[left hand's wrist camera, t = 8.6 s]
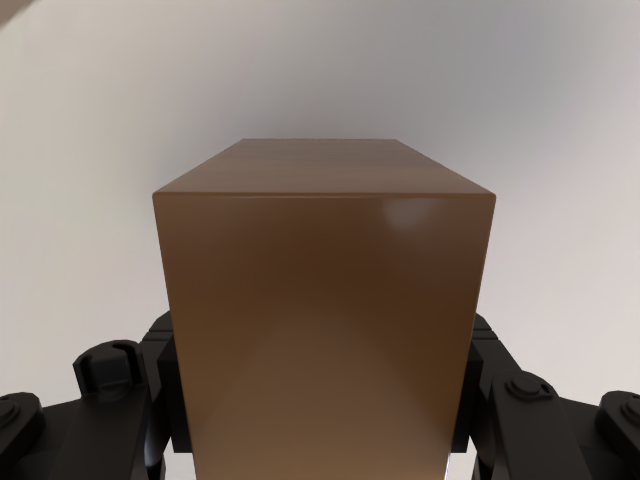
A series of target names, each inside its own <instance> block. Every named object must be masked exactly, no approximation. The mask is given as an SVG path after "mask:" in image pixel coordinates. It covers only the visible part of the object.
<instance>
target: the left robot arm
mask: <svg viewBox="0 0 640 480" xmlns="http://www.w3.org/2000/svg"><path fill="white" fill-rule="evenodd" d="M72 365H73V368H74V371H75V375H76V378H77V382H78V385H79V389H80V392H81V395H82V396H81V398H80V399H77V400H74V401H70V402H65V403H61V404H57V405H52V406H48V407H43V408H42V406H41V403H40V400H39V398H38V397H37V396H35V395H34V394H33V393H26V392H19V393H13V394H8V395H5V396H2V397H0V480H165V471H166V466H165V459H164V454H163V453H164V450H165V448H166V446H167V444H168V441H169V439H170V437H171V440H172V445H173V450H174V453H192V448H191V441H190V435H189V428H188V422H187V416H186V409H185V403H184V396H183V390H182V384H181V377H180V371H179V365H178V358H177V352H176V345H175V339H174V333H173V326H172V320H171V314H170V310H169V311H168V312H166V313H165V314H163V315H162V316H161V317H159V318H158V319H156V321H155V322H154V324H153V325H152V326H151V328H150V329H149V332H147V333H146V335H145V336H144V337H143V339H142V341H140V343H139V344H138V343H137V342H135V341H130V340H113V341H109V342H105V343H101V344H99V345H97V346H95V347H92V348H90V349H88V350H87V351H86V352H84V353H83V354H81V355H80V356H79V357H78V358H77V359H76V361H75V362H74V363H73V364H72ZM469 436H470V437H471V439H472V441H473V443H474V446H475V448H476V450H477V454H476V459H475V464H474V469H473V474H472V479H471V480H640V395H638V394H635V393H632V392H625V391H611V392H607V393H606V394H605V395H603V396H602V399H601V401H600V404H599V406H595V405H591V404H586V403H582V402H577V401H573V400H569V399H565V398H562V397H559V395H558V394H557V392H556V391H555V390H554V388H553V387H552V386H551V385H550V384H549V383H547V382H546V381H545V380H544V379H542V378H540V377H538V376H536V375H534V374H532V373H530V372H526V371H523V370H521V368H520V367H519V365H518V364H517V363H516V361H515V360H514V359H513V357H512V356H511V355H510V353H509V352H508V350H507V349H506V348H505V346H504V345H503V344H502V342H501V341H500V340H498V337H497V335H496V334H495V333H494V331H492V329H491V327H490V326H489V324H488V323H487V322H486V320H485V319H484V318H483V317H482V316H480V315H479V314H477V313H476V314H475V319H474V325H473V331H472V336H471V342H470V347H469V353H468V358H467V364H466V370H465V375H464V381H463V386H462V392H461V397H460V403H459V409H458V414H457V420H456V425H455V431H454V436H453V442H452V448H451V453H466V451H467V446H468V441H469Z"/></svg>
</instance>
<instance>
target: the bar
mask: <svg viewBox="0 0 640 480" xmlns="http://www.w3.org/2000/svg"><path fill="white" fill-rule="evenodd" d="M152 199H153V205H154V211H155V218H156V224H157V231H158V237H159V243H160V250H161V256H162V263H163V269H164V275H165V282H166V288H167V294H168V301H169V307H170V314H171V320H172V326H173V333H174V339H175V345H176V352H177V358H178V365H179V371H180V377H181V384H182V390H183V396H184V403H185V409H186V416H187V422H188V428H189V435H190V441H191V448H192V454H193V460H194V467H195V473H196V479H197V480H446V475H447V470H448V464H449V459H450V453H451V448H452V442H453V436H454V431H455V425H456V420H457V414H458V409H459V403H460V397H461V392H462V386H463V381H464V375H465V370H466V364H467V358H468V353H469V347H470V342H471V336H472V331H473V325H474V319H475V314H476V308H477V303H478V297H479V292H480V286H481V280H482V275H483V269H484V264H485V258H486V253H487V247H488V241H489V236H490V230H491V225H492V219H493V214H494V208H495V203H496V195H495V194H494V193H492V192H490V191H488V190H487V189H485V188H483V187H481V186H479V185H477V184H476V183H474V182H472V181H470V180H468V179H467V178H465V177H463V176H461V175H459V174H457V173H456V172H454V171H452V170H450V169H448V168H446V167H445V166H443V165H441V164H439V163H437V162H435V161H434V160H432V159H430V158H428V157H426V156H425V155H423V154H421V153H419V152H417V151H415V150H414V149H412V148H410V147H408V146H406V145H404V144H403V143H401V142H399V141H397V140H382V139H242V140H240V141H239V142H237V143H235V144H234V145H232V146H230V147H229V148H227V149H225V150H224V151H222V152H220V153H219V154H217V155H215V156H214V157H212V158H210V159H209V160H207V161H205V162H204V163H202V164H200V165H199V166H197V167H195V168H194V169H192V170H190V171H189V172H187V173H185V174H184V175H182V176H180V177H179V178H177V179H175V180H174V181H172V182H170V183H169V184H167V185H165V186H164V187H162V188H160V189H159V190H157V191H155V192H154V193H153V195H152Z"/></svg>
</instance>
